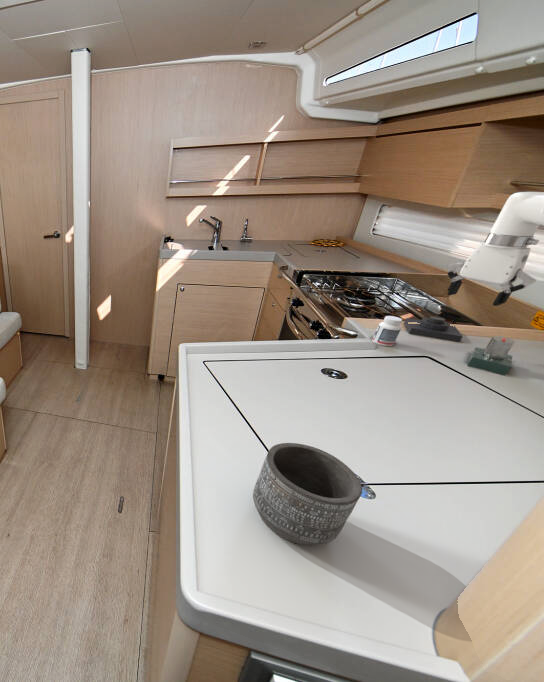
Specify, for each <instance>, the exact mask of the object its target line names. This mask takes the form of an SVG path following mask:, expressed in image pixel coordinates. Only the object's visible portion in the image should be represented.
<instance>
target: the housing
mask: <svg viewBox="0 0 544 682" xmlns="http://www.w3.org/2000/svg"><path fill="white" fill-rule="evenodd" d="M429 318H430V317H423V318H422V319H415V318H409V317H407V318H405V320H404V322H403V325H404V327H405V329H406V331H407V333H408V334H409V335H415V336H420V337H427V338H430V339H431V338H432V339H438V340H445V341H450V342H455V343H460V342H461V340H462V338H463V337H464V336H463V335H462V333H461V332H460V331H459V330H458V328H457V327H456V325H454V327H453V326H450V325H451V324H450V323H449V322H448V321H446V320H445V321H444V323H443V325H440V324H434V323H430V322H428V320H429ZM408 322H417V323H420V324H408Z"/></svg>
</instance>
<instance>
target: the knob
mask: <svg viewBox="0 0 544 682" xmlns="http://www.w3.org/2000/svg"><path fill="white" fill-rule="evenodd" d="M515 343H516V340H514V339H512V338H509V337H505V336H499V335H494V336H492V337H491V339H490V341H489V342H488V344H487V346H486V347H485V348H484V349H485V350H484V352H483V353H482V354H483V355H484V356H486V357H489V358H492V359H498V360H502V359H504V358H505V356H506V355H508V353H509V352H510V351H511V349H512V348H513V346H514V345H515Z"/></svg>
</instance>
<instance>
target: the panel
mask: <svg viewBox="0 0 544 682" xmlns="http://www.w3.org/2000/svg"><path fill="white" fill-rule="evenodd" d="M473 349H474V350H471V354H470V356H469V359H468V362H467V365H466V366H467V367H469V368H475V369H478V370H482V371H486V372H489V373H493V374H497V375H500V376H506V375H507V373H508V372H509V370H510V369H511V368H512V363H513V362H514V363H516V362H517V361H516V360H513V355H510V354H507V355H506V356H505V358H504V359H502V360H498V359H492V358H489V357H486V356H484V355H483V354H482V353H483V352H484V350H485V348H481V347H477V346H475V347H474V348H473Z"/></svg>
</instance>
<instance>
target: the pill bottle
mask: <svg viewBox="0 0 544 682" xmlns="http://www.w3.org/2000/svg"><path fill="white" fill-rule="evenodd" d="M402 321H403V318H400V317H398V316H394V315H385V316H384V318H383V321H381V322H380V323H379V324H378V326H377V328H376V330H375V332H374V335H373V337H372V339H371V341H372V342H373V343H374V344H376V345H379V346H384V347H392V346H394V344H395V342H396V341H397V338H398V336H399V334H400V333H401V330H402V326H401V324H402Z"/></svg>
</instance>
